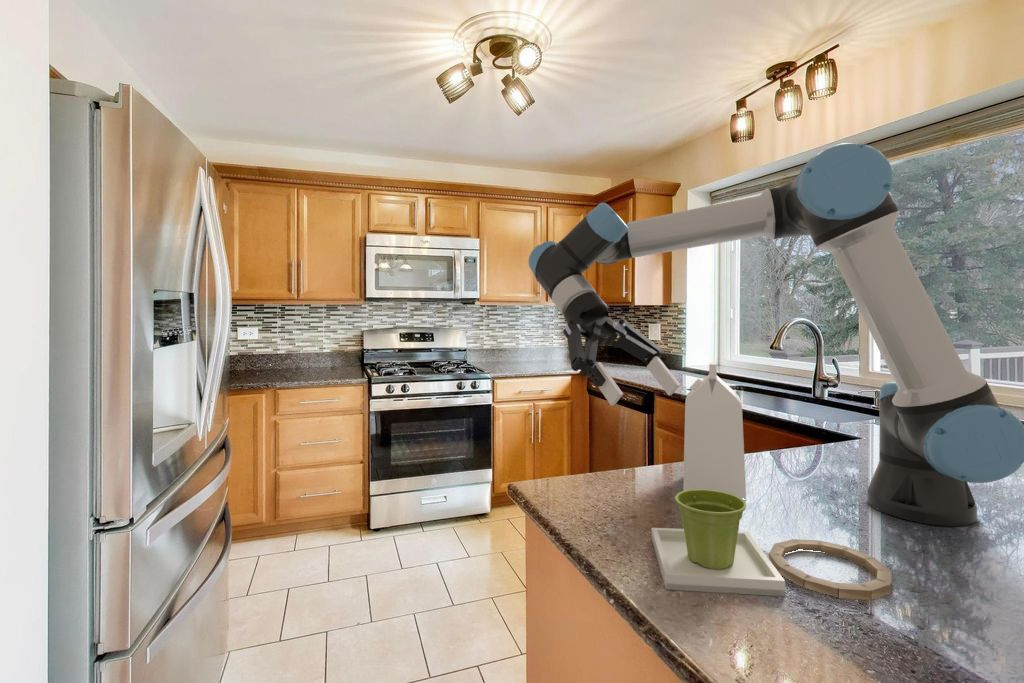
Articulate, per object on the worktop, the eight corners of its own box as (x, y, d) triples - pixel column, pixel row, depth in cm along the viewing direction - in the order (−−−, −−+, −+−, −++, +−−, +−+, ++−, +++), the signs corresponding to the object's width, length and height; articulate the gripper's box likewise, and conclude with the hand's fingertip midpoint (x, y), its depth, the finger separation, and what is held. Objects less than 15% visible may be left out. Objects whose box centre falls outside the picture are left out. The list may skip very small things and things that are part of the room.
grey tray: (748, 544, 77) (748, 531, 77) (785, 596, 62) (785, 580, 62) (651, 539, 79) (651, 527, 79) (665, 589, 64) (665, 574, 64)
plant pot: (670, 543, 76) (669, 487, 75) (734, 545, 75) (734, 489, 74) (683, 574, 67) (682, 511, 66) (756, 577, 65) (756, 513, 65)
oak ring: (855, 549, 74) (855, 541, 74) (917, 602, 60) (917, 593, 60) (756, 545, 76) (756, 537, 76) (794, 595, 62) (794, 586, 62)
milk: (746, 500, 95) (745, 366, 93) (683, 494, 99) (681, 365, 98) (742, 481, 106) (741, 360, 105) (685, 476, 110) (684, 360, 109)
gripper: (618, 318, 100) (682, 400, 88) (517, 322, 86) (578, 420, 74) (637, 290, 95) (708, 372, 83) (534, 289, 81) (602, 388, 69)
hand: (647, 395), depth 78 cm, fingers open, 13 cm apart
